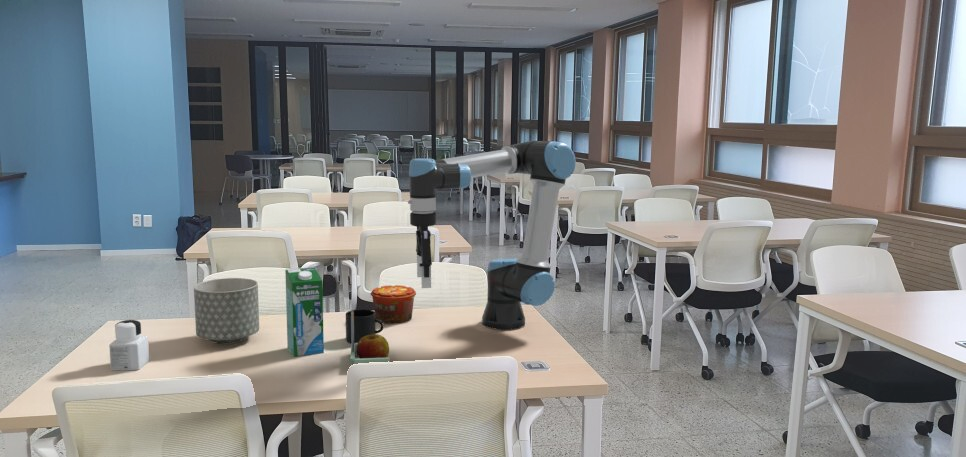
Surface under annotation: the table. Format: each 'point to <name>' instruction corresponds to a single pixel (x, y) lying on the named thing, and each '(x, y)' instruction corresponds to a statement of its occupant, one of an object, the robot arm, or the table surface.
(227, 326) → the planter
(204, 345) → the table surface
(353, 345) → the long-handled green u-channel
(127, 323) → the container
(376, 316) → the food container
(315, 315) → the milk carton
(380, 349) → the fruit
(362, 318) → the mug
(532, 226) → the robot arm
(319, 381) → the table surface
